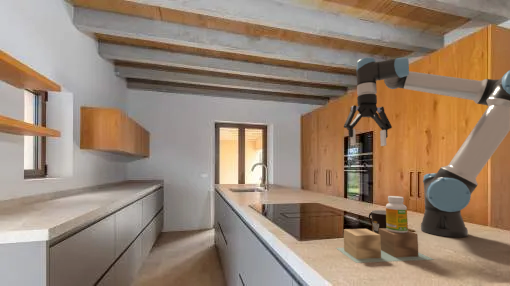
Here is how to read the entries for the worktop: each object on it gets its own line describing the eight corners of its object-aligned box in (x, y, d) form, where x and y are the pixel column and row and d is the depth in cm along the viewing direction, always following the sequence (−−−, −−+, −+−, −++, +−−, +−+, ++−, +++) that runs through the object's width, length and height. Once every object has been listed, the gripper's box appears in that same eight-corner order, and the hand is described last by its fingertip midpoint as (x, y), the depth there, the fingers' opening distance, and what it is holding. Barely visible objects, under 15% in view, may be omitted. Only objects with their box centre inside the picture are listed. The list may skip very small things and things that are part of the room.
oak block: (366, 249, 76) (366, 228, 77) (381, 257, 69) (380, 234, 70) (344, 250, 75) (343, 229, 76) (356, 258, 68) (355, 235, 69)
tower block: (400, 248, 78) (400, 227, 78) (418, 256, 71) (417, 233, 71) (379, 249, 77) (378, 228, 77) (394, 257, 70) (393, 234, 70)
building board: (402, 250, 80) (402, 245, 80) (434, 265, 68) (434, 259, 68) (335, 253, 77) (335, 247, 78) (356, 268, 66) (356, 262, 66)
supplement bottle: (400, 234, 71) (398, 198, 71) (382, 229, 75) (381, 196, 76) (412, 232, 73) (410, 197, 74) (394, 228, 78) (393, 195, 79)
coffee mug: (403, 246, 85) (401, 215, 86) (375, 244, 86) (374, 213, 87) (391, 236, 96) (390, 209, 97) (367, 235, 98) (366, 208, 99)
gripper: (388, 98, 114) (390, 146, 113) (334, 96, 111) (335, 145, 109) (399, 94, 107) (402, 145, 105) (343, 91, 103) (344, 144, 102)
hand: (368, 145), depth 107 cm, fingers open, 13 cm apart
